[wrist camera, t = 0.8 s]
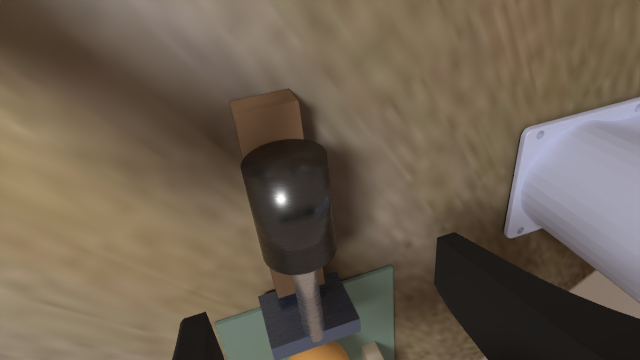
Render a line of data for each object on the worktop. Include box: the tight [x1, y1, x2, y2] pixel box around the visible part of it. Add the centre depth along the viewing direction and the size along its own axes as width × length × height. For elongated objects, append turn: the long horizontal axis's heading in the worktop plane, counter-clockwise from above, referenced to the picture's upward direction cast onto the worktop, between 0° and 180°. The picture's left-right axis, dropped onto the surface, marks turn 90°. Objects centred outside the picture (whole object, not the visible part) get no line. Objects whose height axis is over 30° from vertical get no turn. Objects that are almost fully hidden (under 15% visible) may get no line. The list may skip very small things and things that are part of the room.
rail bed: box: [229, 89, 325, 299], centre depth 19 cm, size 3×10×2 cm, turn 6°
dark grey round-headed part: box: [241, 139, 361, 360], centre depth 18 cm, size 11×5×5 cm, turn 6°
